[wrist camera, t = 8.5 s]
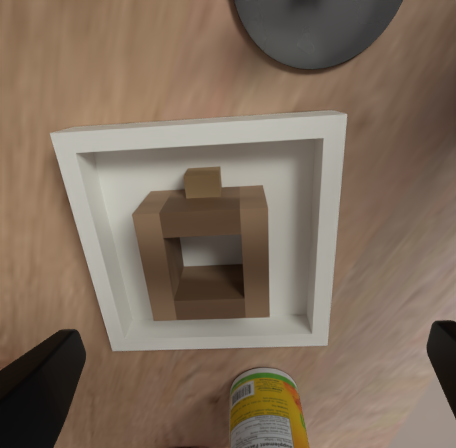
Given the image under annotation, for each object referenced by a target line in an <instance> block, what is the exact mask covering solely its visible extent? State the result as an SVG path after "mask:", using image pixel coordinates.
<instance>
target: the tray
mask: <svg viewBox="0 0 456 448" xmlns="http://www.w3.org/2000/svg"><path fill="white" fill-rule="evenodd" d="M346 123H347V114H345V113H341V112H338V111H334V110H326V111H310V112H295V113H279V114H264V115H249V116H233V117H218V118H203V119H187V120H172V121H156V122H141V123H126V124H110V125H95V126H79V127H71V128H68V129H64V130H60V131H57V132H53V133H50V136H51V139H52V142H53V146H54V149H55V153H56V156H57V160H58V163H59V167H60V170H61V174H62V177H63V181H64V184H65V188H66V191H67V195H68V198H69V202H70V205H71V209H72V212H73V215H74V219H75V222H76V226H77V229H78V233H79V236H80V240H81V243H82V247H83V250H84V254H85V257H86V261H87V264H88V268H89V271H90V275H91V278H92V282H93V285H94V289H95V292H96V295H97V299H98V302H99V306H100V309H101V313H102V316H103V320H104V323H105V327H106V330H107V334H108V337H109V341H110V344H111V348H112V351H140V350H178V349H216V348H254V347H292V346H327V344H328V333H329V321H330V309H331V298H332V286H333V274H334V263H335V251H336V240H337V228H338V216H339V205H340V193H341V181H342V170H343V158H344V147H345V135H346ZM219 166H220V169H221V182H222V187H237V186H256V185H263V188H264V193H265V197H266V201H267V205H268V232H269V303H270V317H266V318H235V319H203V320H172V321H154V320H153V315H152V310H151V305H150V300H149V295H148V291H147V286H146V281H145V276H144V271H143V266H142V261H141V257H140V252H139V247H138V242H137V237H136V232H135V228H134V223H133V218H132V214H133V213H134V211H135V210H136V209H137V208H138V206H139V205H140V204H141V203H142V201H143V200H144V199H145V198H146V196H147V195H148V194H149V193H150V191H163V190H182V189H185V185H184V177H183V176H184V174H185V173H186V171H187V169H188V168H202V167H219ZM180 242H181V249H182V256H183V263H184V266H206V265H231V264H243V257H242V238H241V234H238V235H216V236H194V237H180Z"/></svg>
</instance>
